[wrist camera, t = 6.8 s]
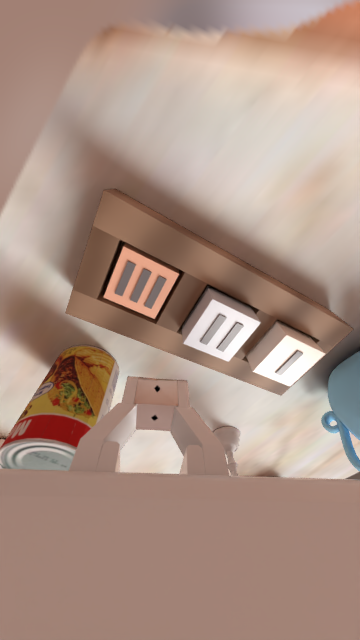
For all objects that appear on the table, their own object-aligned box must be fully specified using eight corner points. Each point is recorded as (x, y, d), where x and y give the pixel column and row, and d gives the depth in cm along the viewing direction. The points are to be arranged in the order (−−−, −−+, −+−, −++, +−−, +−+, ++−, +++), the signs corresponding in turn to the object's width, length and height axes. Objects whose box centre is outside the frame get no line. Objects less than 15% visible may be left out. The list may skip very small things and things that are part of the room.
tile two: (251, 307, 22) (261, 323, 19) (222, 344, 24) (228, 362, 22) (207, 285, 20) (212, 300, 18) (181, 326, 23) (183, 344, 20)
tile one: (309, 336, 24) (326, 354, 21) (279, 368, 26) (290, 387, 24) (274, 319, 23) (287, 335, 20) (244, 353, 25) (253, 372, 22)
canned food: (52, 342, 27) (-20, 439, 17) (119, 347, 28) (89, 443, 18) (61, 387, 31) (8, 488, 21) (119, 390, 32) (96, 489, 22)
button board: (329, 310, 26) (353, 329, 23) (268, 372, 31) (281, 395, 28) (115, 188, 19) (103, 189, 16) (80, 294, 24) (65, 313, 20)
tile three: (178, 264, 21) (179, 274, 19) (156, 305, 24) (154, 319, 21) (128, 238, 20) (123, 246, 18) (110, 285, 22) (102, 298, 20)
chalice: (215, 419, 36) (249, 594, 21) (252, 425, 37) (311, 594, 22) (199, 444, 40) (218, 609, 24) (234, 449, 41) (273, 609, 26)
